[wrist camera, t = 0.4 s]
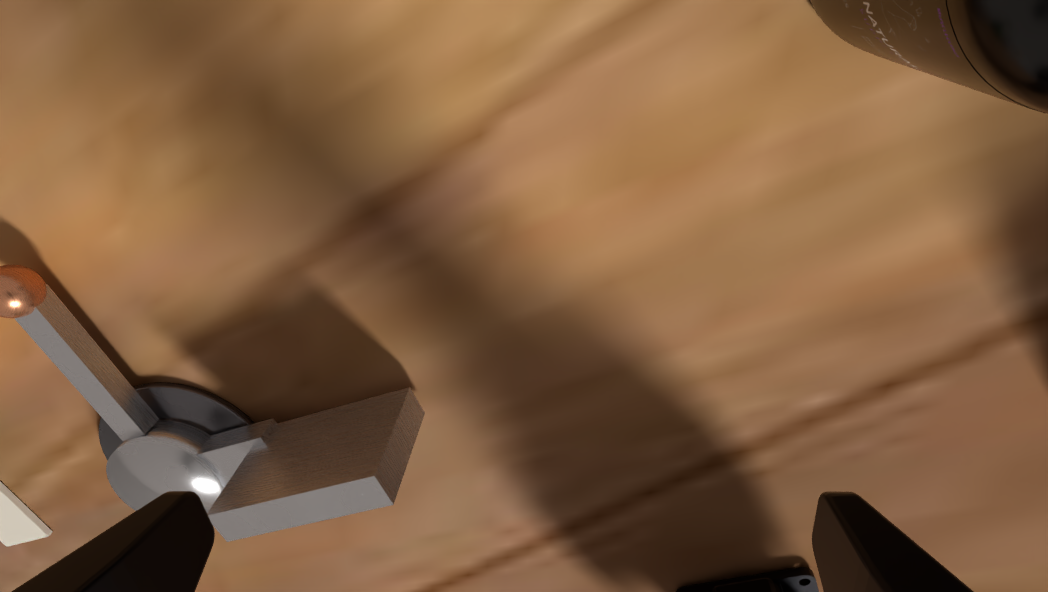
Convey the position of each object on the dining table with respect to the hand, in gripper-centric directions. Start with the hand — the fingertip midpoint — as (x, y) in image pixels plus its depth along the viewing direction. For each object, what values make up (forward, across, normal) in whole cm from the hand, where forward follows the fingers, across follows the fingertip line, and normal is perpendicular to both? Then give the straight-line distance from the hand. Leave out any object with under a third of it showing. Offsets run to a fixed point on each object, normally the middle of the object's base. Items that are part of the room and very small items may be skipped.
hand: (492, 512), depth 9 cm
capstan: (+13, +14, +6) cm, 20 cm away
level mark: (+14, +29, +15) cm, 36 cm away
